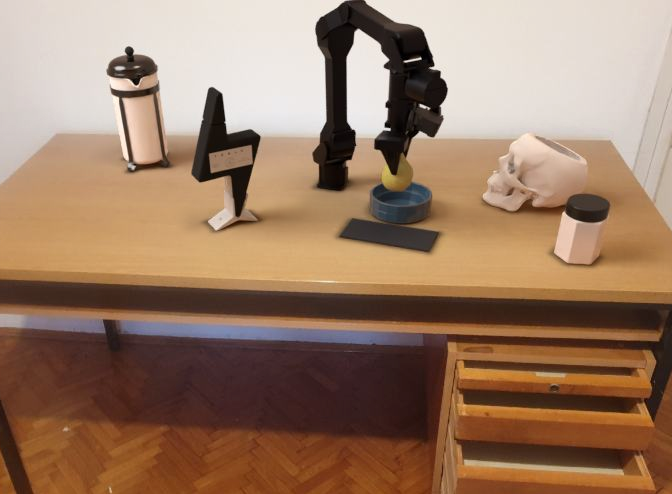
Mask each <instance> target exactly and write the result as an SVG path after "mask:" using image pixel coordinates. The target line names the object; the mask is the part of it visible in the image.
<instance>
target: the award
mask: <svg viewBox="0 0 672 494" xmlns="http://www.w3.org/2000/svg"><path fill="white" fill-rule="evenodd" d="M224 103H225V102H224V95H223V92H221V91H219V89H216V88H215V87H214V86H210V87H208V89H207V93H206V97H205V103H204V107H203V112H202V116H201V117H202V120H201V123H200V128H199V132H198V138H197V142H196V147H195V152H194V157H193V163H192V167H191V176H192V177H193V178H194V179H195V180H196V181H197V182H198V183H205V182H209V181H213V180H217V179H220V178H224V183H225V184H224V185H225V189H223V200H224V201H223V202H224V207H223V209H221V210H220V211H219V212H217V213H216V214H215V215H214V216H213V217H211V218H210V219H209V220H208V221H207V223H208V224H209V225H210V226H211V227H212V228H213V229H214V230H215V232H217V231H220V230H222V229H225V228H226V227H227V226H229V225H231V224H234V223H236V222H238V221H253V222H257V221H259V219H258V218H257V217H255V216H254V215H253V214H252V213H251V211H250V210H247V209H246V205H247V202H248V197H249V193H248V188H249V184H250V180H251V176H252V173H253V170H254V165H255V162H256V158H257V155H258V151H259V146H260V143H261V139H262V137H261V135H260V134H259V133H257V132H256V131H254V130H253V129H251V128H249V129H245V130H240V131H235V132H229V133H228V131H227V129H228V127H227V123H226V122H227V120H226V111H225V104H224Z"/></svg>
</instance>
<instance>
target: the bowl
mask: <svg viewBox="0 0 672 494" xmlns="http://www.w3.org/2000/svg"><path fill="white" fill-rule="evenodd" d="M368 203H369V207H368V208H369V209H368V210H369V212H370V215H372V216H373V217H374V218H376V219H378V220H380V221H383V222H387V223H393V224H409V223H410V224H411V223H417V222H419V221H422V220H424V219H426V218H427V217H429V216H430V214H431V212H432V204H433V192H432V190H431V189H430V188H429V187H428V186H426V185H424V184H422V183H419V182H416V181H412V182H411V184H410V186H409V187H408V188H407V189H405V190H403V191H401V192H400V191H390V190H388V189H386V188H385V186H384V185H383V182H380V183H376V185H374V186H372V187H371V188H370V190H369V202H368Z"/></svg>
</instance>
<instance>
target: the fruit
mask: <svg viewBox="0 0 672 494" xmlns="http://www.w3.org/2000/svg"><path fill="white" fill-rule="evenodd" d="M412 167H413V166H412V165H411V164H410V163H409V161H408V160H407V157H406V158H405V156H404V154H403V153H402V155H401V159H400V163H399V168H398V172H397V175H392V174H391V172H390V170H389V168H388V165H387V164H386V165H385V166H384V168H383V170H382V172H381V173H382V174H381V183H383V185H384V186H385V188H386V189H388V190H390V191H400V192H401V191H403V190H405V189H407V188H408V187H409V186H410V184H411V182H413V178H414V170H413V168H412Z"/></svg>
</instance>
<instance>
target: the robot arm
mask: <svg viewBox="0 0 672 494" xmlns="http://www.w3.org/2000/svg"><path fill="white" fill-rule="evenodd" d="M358 30H359V31H361V32H363V33H364V34H366V35H367V36H368V37H370V38H371V39H373V40H374V41H376V42H377V43H378V44H379V45H380V51H381V53H383V55H384V56H385V57H386V58H387V59H388V61H386V62H385V63H384V64H383V66H382V67H383V69H385V70H388V71H389V74H388V93H387V94H388V96H387V101H386V102H385V104H384V106H385V107H384V108H385V109H387V113H386V114H387V117H386V120H385V122H384V127H383V128H385V129H390V130H384V129H383V130H382V131H381V132H380V133H378V135H377V136H376V137H375V139H374V140H373V141H374V143H373V149H374V150H376V151H380V153H381V155H382V157H383V159H384V161H385V163H386V165H388V168H389V170H390V172H391V174H392V175H397V172H398V168H399V163H400V159H401V155H402V153H403V154H404V156H405V158H406V159H407V157H408V153H409V150H410V148H411V147H410V146H411V144H412V141H413V139H414V138H415V137H416V136H417V135H418V134H419V133H420V132H421V133H423V134H425V135H426V137H428V138H435V137H436V135H437V134H438V132H439V131H440V128H441V126H442V124H443V122H444V120H445V118H444V115H443V114H442V107H441V106H442V105H443V103H444V102H445V101H446V98H447V96H448V93H449V92H448V91H449V87H448V84H447V81H446V80H445V79H444V78H443V77H441V76H442V71H441V70H439V69H433V68H435V61H434V55H433V53H432V51H431V49H430V46H429V43H428V42H429V41H428V40H427V37H426V33H425V31H424V30H423V29H422V28H421V27H419V26H416V25H413V24H410V23H402V22H401V23H400V22H398V21H397V22H396V21H394V20H393V19H391V18H390V17H389V16H386V15H385V14H384V13H382V12H380V11H379V10H377V9H376V8H374V7H373V6H371V5H369V4H368V2H367V1H366V0H344V1H343V2H341V3H339V5H338V6H337V7H336V8H334V9H332V10H331V11H329V12H327V13H325V14H324V15H323V16H320V17H319V18H318V20H317V21H316V23H315V28H314V32H315V36H316V43H317V48H318V49H319V51H320V52H321V53H322V55H323V57H324V77H325V78H324V79H325V118H326V119H325V120H326V121H325V123H324V125H323V127H322V129H321V131H320V133H319V143H318V145H317V146H316V148H314V149H313V151H312V153H311V155H312V161H313V162H314V163H315V164H317V165H318V183H316V188H321V189H328V190H335V191H342V190H343V188H344V187H345V186H346V185H347V183H348V182H349V166H348V165H347V161H352V160H353V156H354V153H355V151H356V147H357V141H356V138H357V137H356V135H357V132H356V129H354V128H352V127H351V125H350V123H349V122H348V56H349V54H350V52H351V50H352V48H353V46H354V44H355V33H356V32H357V31H358ZM422 106H423V107H422Z"/></svg>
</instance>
